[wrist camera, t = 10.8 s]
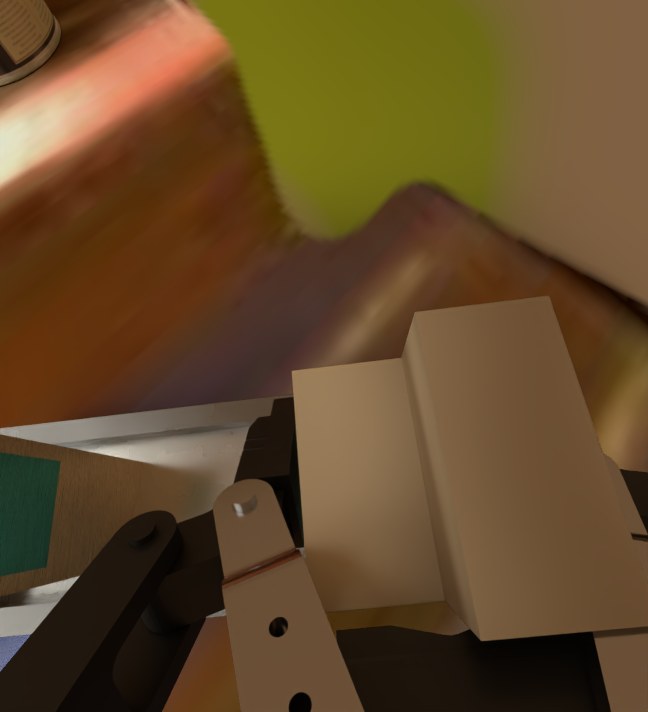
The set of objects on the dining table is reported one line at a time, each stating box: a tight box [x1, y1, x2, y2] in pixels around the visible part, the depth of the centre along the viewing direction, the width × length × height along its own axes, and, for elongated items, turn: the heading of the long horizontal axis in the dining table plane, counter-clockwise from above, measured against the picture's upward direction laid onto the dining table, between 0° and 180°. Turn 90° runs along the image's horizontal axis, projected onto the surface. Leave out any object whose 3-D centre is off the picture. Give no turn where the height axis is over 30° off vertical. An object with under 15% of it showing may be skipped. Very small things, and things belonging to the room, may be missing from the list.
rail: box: [0, 394, 306, 637], centre depth 12 cm, size 22×8×14 cm, turn 96°
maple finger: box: [292, 296, 648, 641], centre depth 11 cm, size 4×4×13 cm
